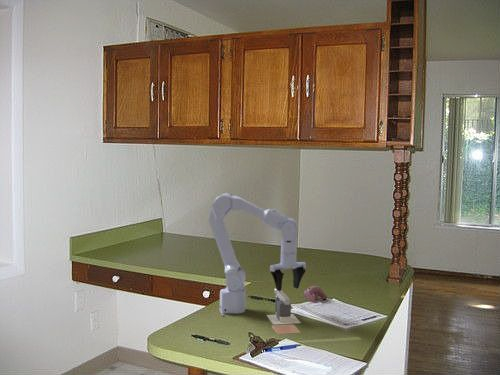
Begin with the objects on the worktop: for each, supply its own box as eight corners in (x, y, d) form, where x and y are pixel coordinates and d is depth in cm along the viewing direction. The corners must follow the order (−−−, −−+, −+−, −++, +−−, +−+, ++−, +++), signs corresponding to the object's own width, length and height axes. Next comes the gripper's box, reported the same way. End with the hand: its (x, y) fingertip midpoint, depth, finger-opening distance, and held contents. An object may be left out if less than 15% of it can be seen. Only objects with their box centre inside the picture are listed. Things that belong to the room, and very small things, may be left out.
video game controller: (319, 301, 212) (313, 285, 214) (328, 298, 210) (322, 282, 211) (306, 307, 205) (300, 290, 206) (315, 304, 202) (309, 286, 204)
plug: (279, 321, 180) (279, 304, 180) (276, 317, 184) (276, 300, 184) (290, 320, 181) (290, 303, 181) (287, 316, 185) (287, 300, 185)
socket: (273, 326, 177) (273, 306, 176) (263, 313, 191) (264, 294, 190) (301, 325, 179) (301, 304, 178) (289, 312, 193) (290, 293, 192)
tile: (276, 336, 168) (277, 333, 168) (270, 327, 176) (271, 325, 176) (300, 335, 170) (300, 332, 169) (293, 326, 177) (293, 324, 177)
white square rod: (284, 304, 178) (284, 299, 177) (273, 293, 191) (273, 288, 191) (290, 304, 178) (290, 298, 178) (280, 293, 192) (280, 287, 192)
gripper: (278, 255, 180) (276, 294, 181) (311, 252, 187) (310, 289, 188) (267, 252, 186) (266, 289, 187) (299, 248, 193) (298, 284, 194)
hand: (287, 289), depth 188 cm, fingers open, 7 cm apart
